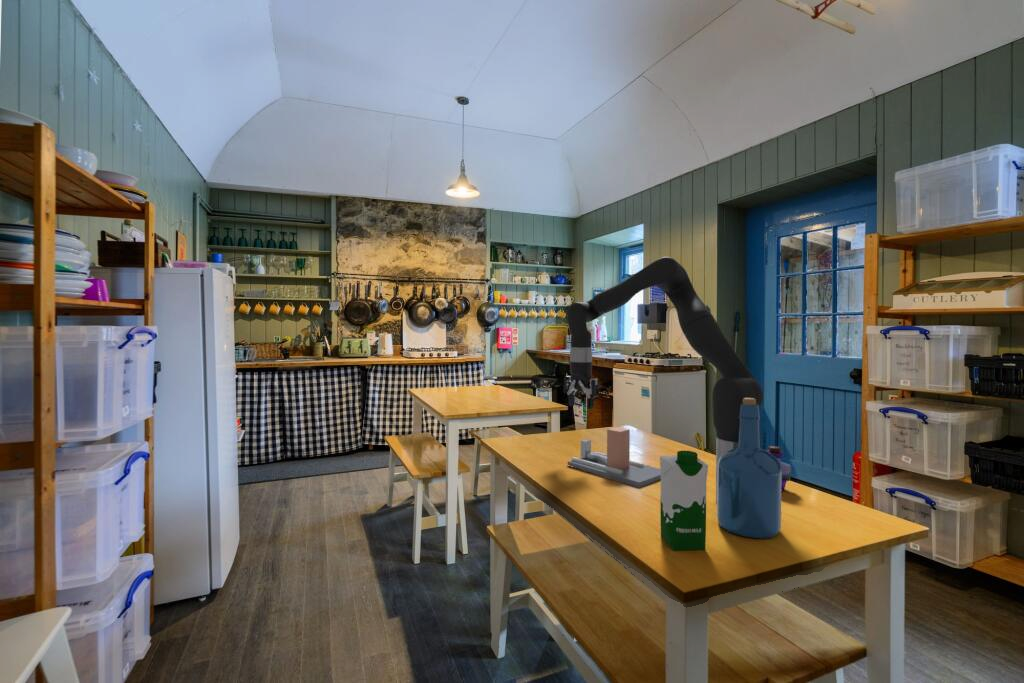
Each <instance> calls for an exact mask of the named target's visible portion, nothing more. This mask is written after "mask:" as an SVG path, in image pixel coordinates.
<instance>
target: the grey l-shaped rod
mask: <svg viewBox="0 0 1024 683" xmlns="http://www.w3.org/2000/svg"><path fill="white" fill-rule="evenodd" d="M580 458H587V459H591V460H595V461H598V462H602V463H605V465H607V456H604V455H600V454H596V453H593V452H592V440H590V439H587V438H585V439H583V440H580Z"/></svg>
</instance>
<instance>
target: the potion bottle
mask: <svg viewBox="0 0 1024 683" xmlns="http://www.w3.org/2000/svg"><path fill="white" fill-rule="evenodd" d="M765 450H766V451H768V452H769V453H771V454H772V455H773V456H775V457H776V458H777V459H778V461H779V462H780V464H781V470H782V487H781V490H786V489H785V488H786V485H787V482H790V480H791V475H792V474H791V473H792V472H791V471H792V466H791V465H790V464H789V463H786V462H782V461H781V458H784V451H782V448H781V446H776V445H775V446H774V445H769V446H768V449H765Z"/></svg>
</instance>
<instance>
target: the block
mask: <svg viewBox="0 0 1024 683" xmlns="http://www.w3.org/2000/svg"><path fill="white" fill-rule="evenodd" d="M630 432H631V430H630V429H629V428H624V427H617V426H615V427H612V428H607V429H606V454H607V466H608V467H612V468H615V469H619V470H621V469H624V468H627V467H629V460H630V445H631V444H630V441H631V440H630V436H631V434H630Z"/></svg>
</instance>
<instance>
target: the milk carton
mask: <svg viewBox="0 0 1024 683" xmlns="http://www.w3.org/2000/svg"><path fill="white" fill-rule="evenodd" d="M659 466H660V468H659V469H661V480H660V536H661V537H662V539H663V540H664V541H665V543H666V544H667V545H668V546H669V547H670V549H671V550H672V551H697V550H699V551H700V550H701V551H703V550H706V543H707V542H706V539H707V537H706V535H707V534H706V532H707V480H708V470H709V464H707V463H706V462H704V461H703V460H701V458H699V457H698V452H696V451H691V450H678V451H677V452H676V455H660V456H659Z"/></svg>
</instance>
